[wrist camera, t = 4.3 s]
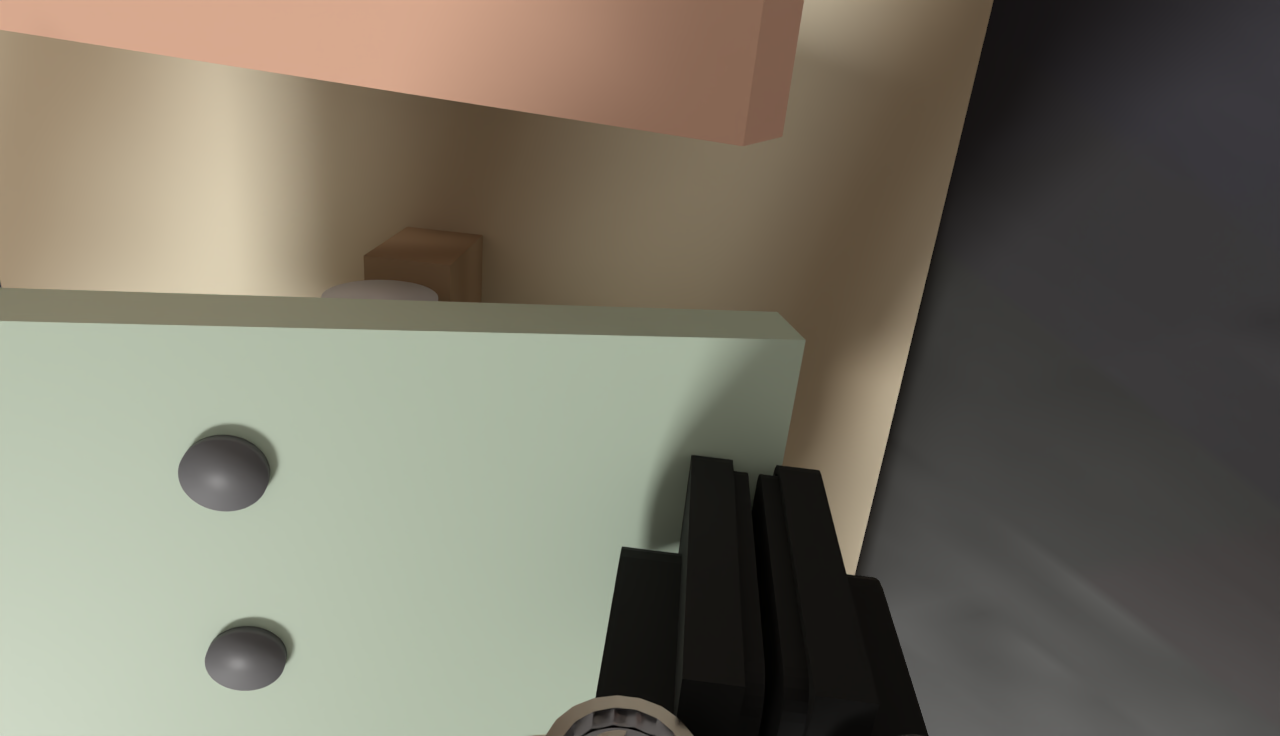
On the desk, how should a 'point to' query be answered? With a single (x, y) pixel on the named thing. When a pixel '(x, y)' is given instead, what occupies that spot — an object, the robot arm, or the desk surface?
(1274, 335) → the desk surface
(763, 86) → the tile
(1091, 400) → the desk surface
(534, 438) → the tile
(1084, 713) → the desk surface
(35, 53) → the board
